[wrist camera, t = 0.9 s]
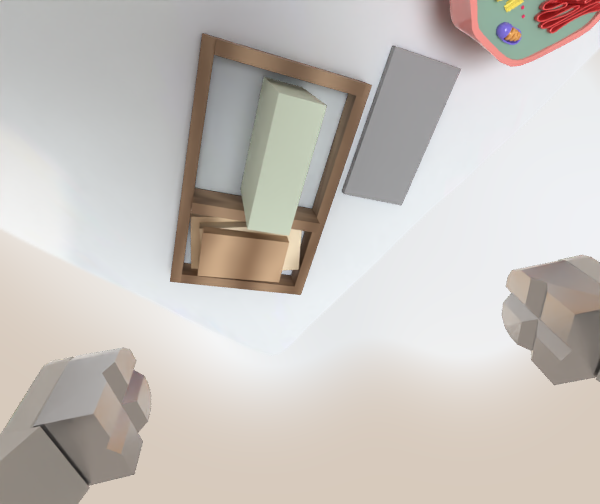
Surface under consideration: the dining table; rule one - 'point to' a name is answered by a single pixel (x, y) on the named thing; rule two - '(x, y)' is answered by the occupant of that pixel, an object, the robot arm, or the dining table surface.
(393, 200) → the slate pad
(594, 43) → the dining table surface
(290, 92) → the pale green cuboid
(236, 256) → the offcut stack
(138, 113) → the dining table surface
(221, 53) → the frame
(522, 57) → the cell model
